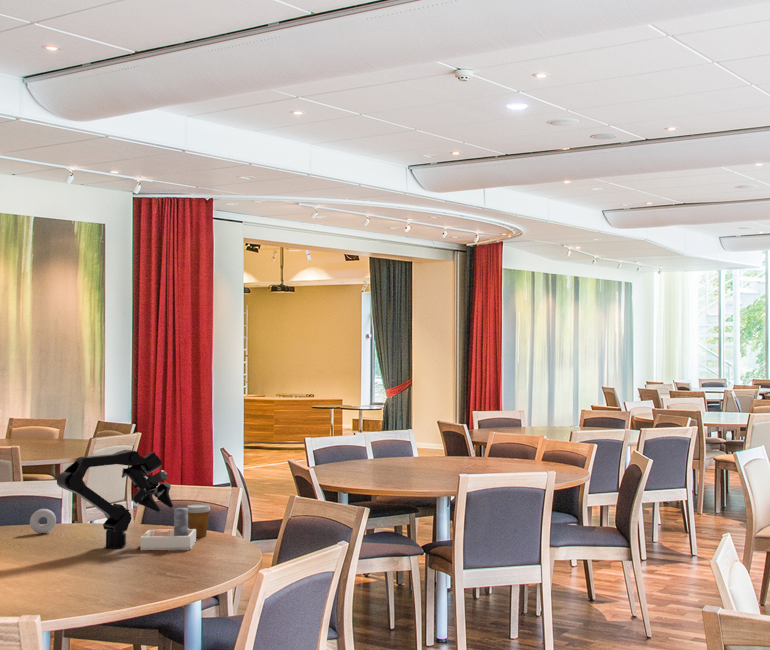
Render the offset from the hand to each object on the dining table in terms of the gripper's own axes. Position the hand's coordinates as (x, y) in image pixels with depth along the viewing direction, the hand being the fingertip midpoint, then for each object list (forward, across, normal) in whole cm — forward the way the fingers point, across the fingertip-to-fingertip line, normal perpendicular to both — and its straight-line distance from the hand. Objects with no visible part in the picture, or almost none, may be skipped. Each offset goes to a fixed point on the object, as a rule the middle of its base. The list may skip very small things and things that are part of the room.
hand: (165, 509), depth 319 cm
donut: (-33, +8, +53) cm, 63 cm away
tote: (+11, -2, +8) cm, 14 cm away
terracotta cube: (+9, -2, +9) cm, 13 cm away
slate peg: (+14, 0, +4) cm, 14 cm away
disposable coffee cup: (+12, +19, +7) cm, 24 cm away
